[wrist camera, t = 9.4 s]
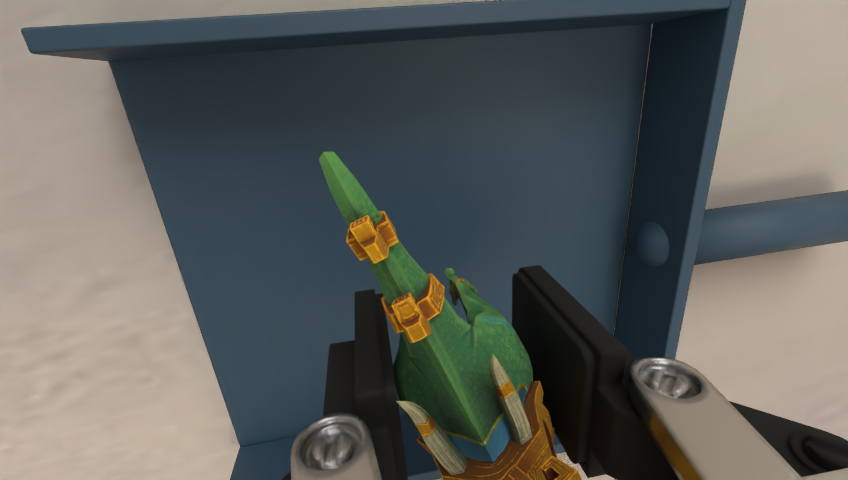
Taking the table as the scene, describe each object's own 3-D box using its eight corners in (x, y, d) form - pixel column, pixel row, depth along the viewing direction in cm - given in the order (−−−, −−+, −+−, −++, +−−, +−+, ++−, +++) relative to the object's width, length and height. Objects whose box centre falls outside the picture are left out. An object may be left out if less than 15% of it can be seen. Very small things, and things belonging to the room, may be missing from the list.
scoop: (244, 446, 17) (221, 525, 14) (109, 43, 11) (17, 27, 8) (786, 343, 21) (863, 389, 18) (900, -7, 15) (1044, -31, 12)
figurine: (467, 445, 15) (581, 832, 7) (284, 148, 10) (47, 359, 2) (543, 409, 14) (741, 761, 7) (395, 92, 10) (513, 124, 2)
